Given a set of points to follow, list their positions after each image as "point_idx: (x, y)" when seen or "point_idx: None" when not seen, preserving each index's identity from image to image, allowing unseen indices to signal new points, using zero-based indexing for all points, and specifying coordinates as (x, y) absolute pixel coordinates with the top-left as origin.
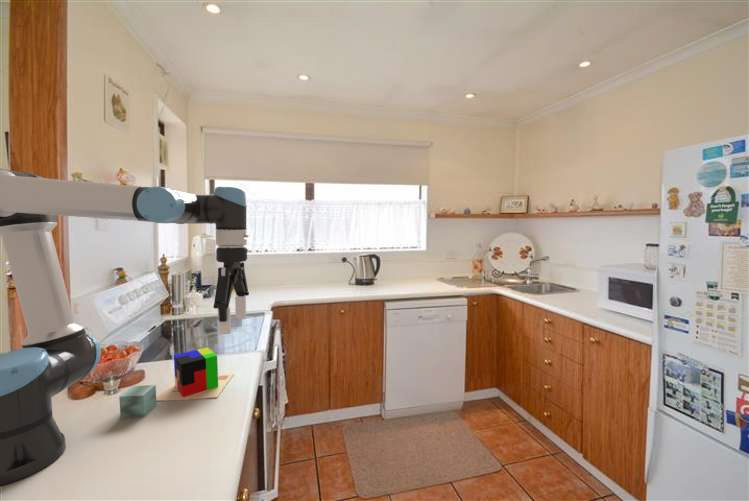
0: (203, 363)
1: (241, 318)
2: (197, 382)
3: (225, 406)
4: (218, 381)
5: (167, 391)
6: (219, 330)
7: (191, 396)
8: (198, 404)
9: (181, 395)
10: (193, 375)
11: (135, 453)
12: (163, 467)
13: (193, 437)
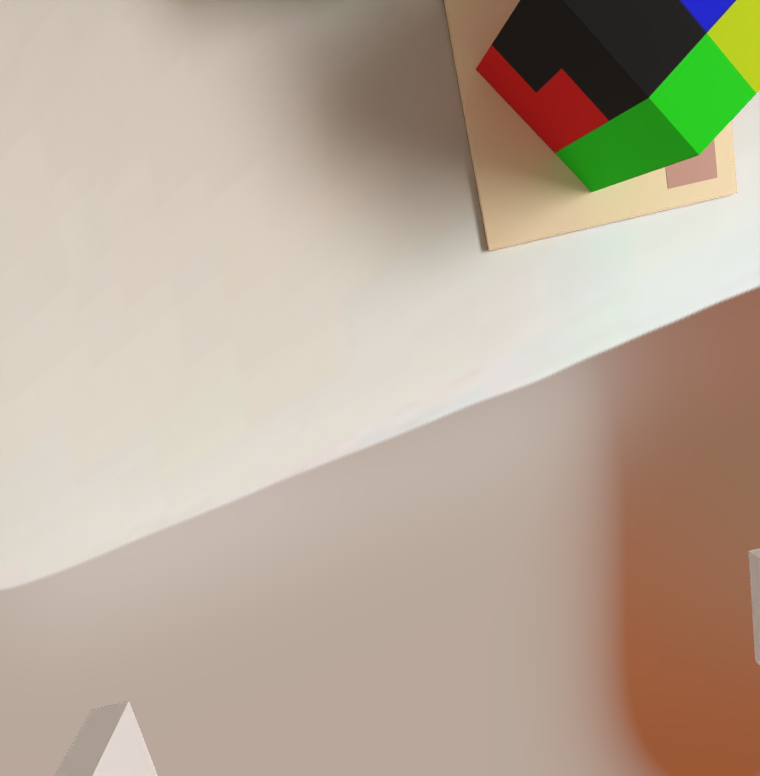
0: (621, 96)
1: (758, 625)
2: (545, 104)
3: (420, 332)
4: None
5: None
6: (76, 760)
7: (486, 111)
8: (425, 194)
9: None
10: (550, 72)
11: (60, 174)
12: (20, 341)
13: (193, 335)
